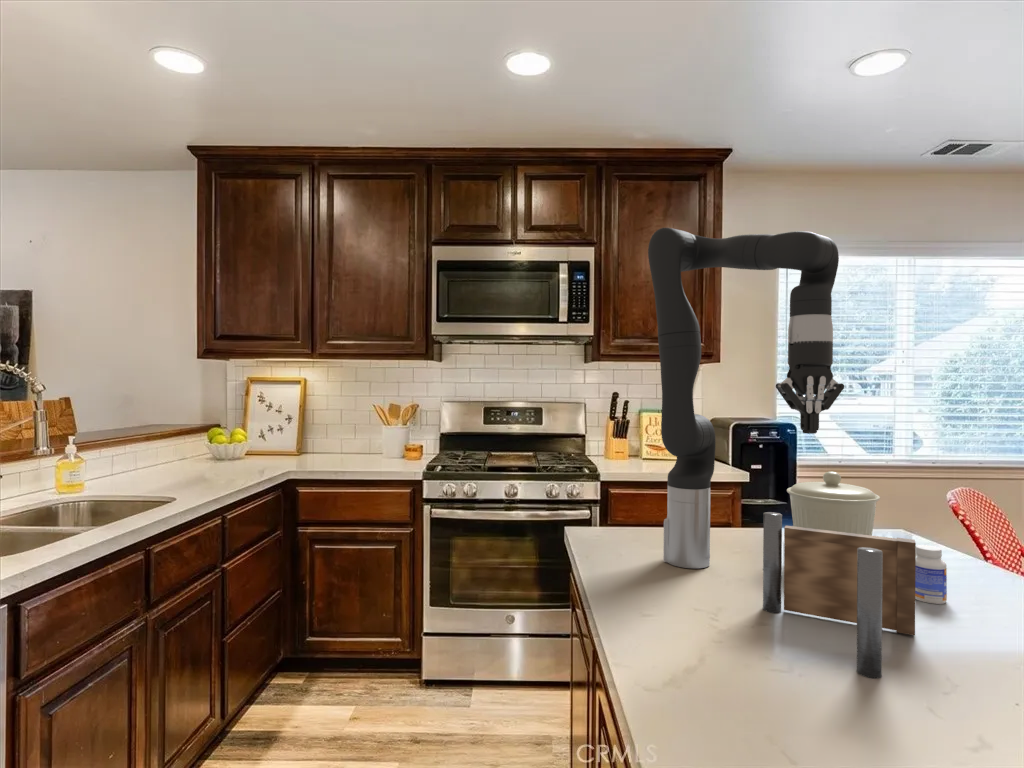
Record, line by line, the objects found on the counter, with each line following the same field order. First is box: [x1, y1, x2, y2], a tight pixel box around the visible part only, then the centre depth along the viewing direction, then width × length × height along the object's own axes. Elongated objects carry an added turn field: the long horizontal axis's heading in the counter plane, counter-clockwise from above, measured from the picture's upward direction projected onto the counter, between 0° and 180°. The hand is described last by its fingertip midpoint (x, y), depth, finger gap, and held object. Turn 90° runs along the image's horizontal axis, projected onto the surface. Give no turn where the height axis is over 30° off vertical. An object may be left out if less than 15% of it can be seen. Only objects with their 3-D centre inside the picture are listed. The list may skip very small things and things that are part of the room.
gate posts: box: [762, 511, 883, 679], centre depth 94 cm, size 26×3×17 cm, turn 8°
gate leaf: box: [783, 525, 917, 636], centre depth 100 cm, size 19×2×15 cm, turn 59°
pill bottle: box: [915, 544, 948, 605], centre depth 112 cm, size 5×5×10 cm
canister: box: [786, 471, 881, 536], centre depth 131 cm, size 18×18×21 cm
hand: (809, 433), depth 111 cm, fingers closed
